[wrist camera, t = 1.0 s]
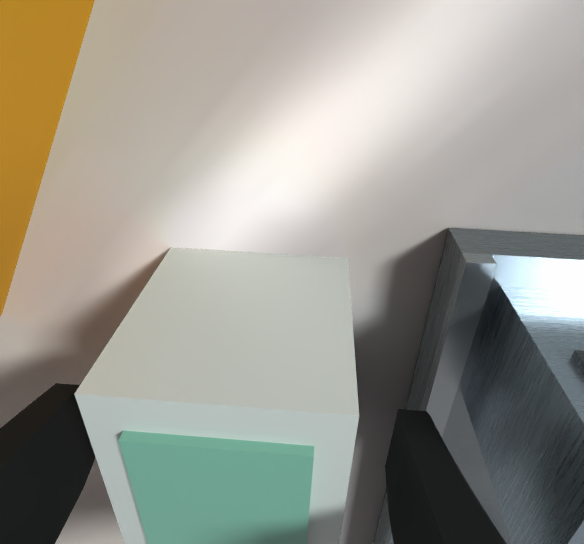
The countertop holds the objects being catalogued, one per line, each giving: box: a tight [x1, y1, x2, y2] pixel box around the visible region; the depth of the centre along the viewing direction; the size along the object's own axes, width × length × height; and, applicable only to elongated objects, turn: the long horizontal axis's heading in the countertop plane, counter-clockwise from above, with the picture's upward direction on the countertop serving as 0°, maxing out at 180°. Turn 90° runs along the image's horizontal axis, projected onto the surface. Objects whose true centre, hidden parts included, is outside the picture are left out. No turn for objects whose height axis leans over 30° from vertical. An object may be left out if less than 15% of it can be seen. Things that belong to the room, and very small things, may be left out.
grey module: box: [74, 247, 359, 544], centre depth 10 cm, size 5×6×5 cm
